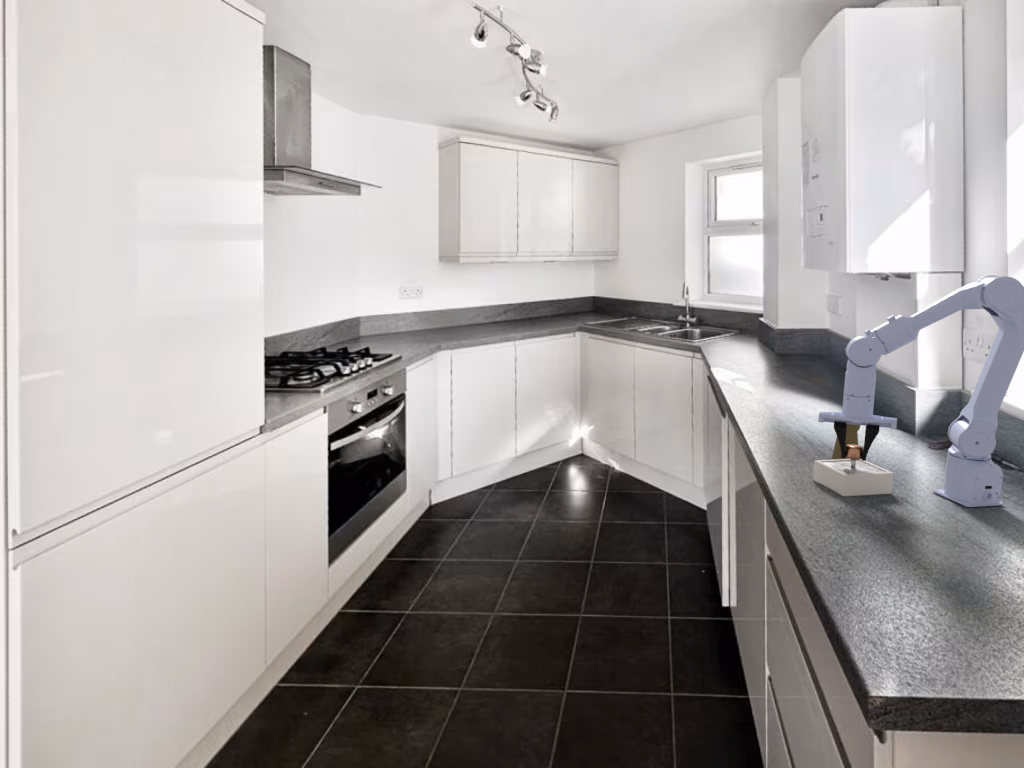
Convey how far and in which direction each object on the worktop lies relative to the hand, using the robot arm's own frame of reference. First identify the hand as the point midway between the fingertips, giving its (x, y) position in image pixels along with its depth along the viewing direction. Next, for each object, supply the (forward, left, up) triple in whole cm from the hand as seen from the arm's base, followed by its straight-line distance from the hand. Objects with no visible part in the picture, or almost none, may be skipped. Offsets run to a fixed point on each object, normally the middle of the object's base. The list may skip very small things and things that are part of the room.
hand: (853, 458), depth 147 cm
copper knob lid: (0, 0, -2) cm, 2 cm away
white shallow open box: (0, 0, -6) cm, 6 cm away
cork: (+17, -10, -6) cm, 21 cm away
